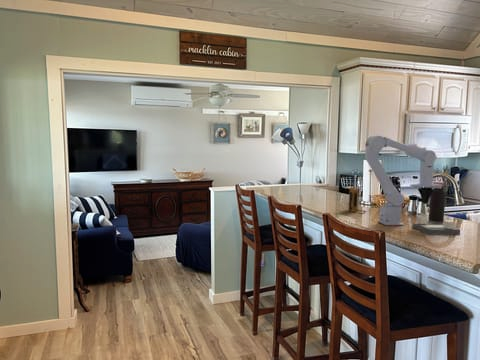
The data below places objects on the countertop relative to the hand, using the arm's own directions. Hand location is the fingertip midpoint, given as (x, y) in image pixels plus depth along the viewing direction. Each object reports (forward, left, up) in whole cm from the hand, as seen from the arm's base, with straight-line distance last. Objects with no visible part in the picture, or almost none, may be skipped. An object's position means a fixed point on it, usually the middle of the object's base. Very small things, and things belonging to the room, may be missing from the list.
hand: (425, 203), depth 177 cm
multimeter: (-19, +33, -11) cm, 39 cm away
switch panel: (-2, -12, -10) cm, 16 cm away
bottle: (+11, +8, -11) cm, 18 cm away
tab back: (-5, -7, -8) cm, 12 cm away
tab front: (+2, -16, -8) cm, 18 cm away
